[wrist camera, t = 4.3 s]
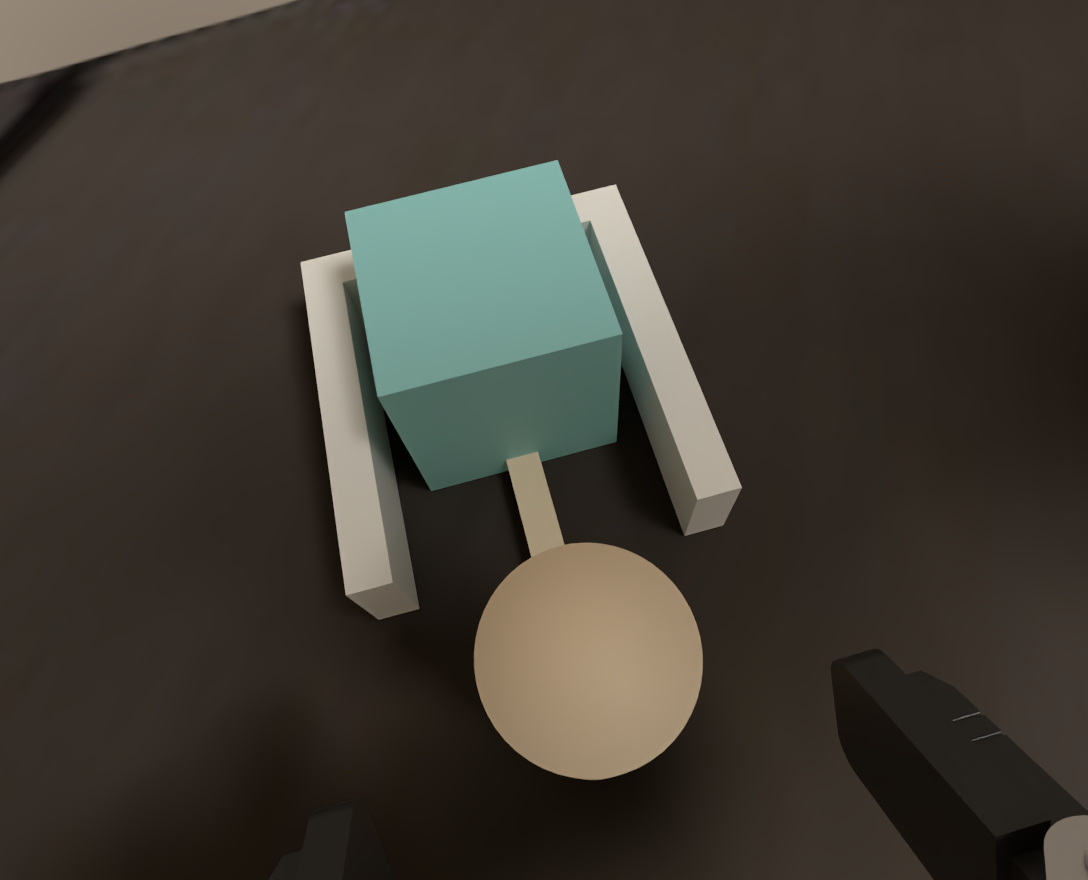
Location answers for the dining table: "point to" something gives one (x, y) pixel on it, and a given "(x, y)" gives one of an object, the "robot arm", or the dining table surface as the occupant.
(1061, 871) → the robot arm
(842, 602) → the dining table surface
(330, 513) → the dining table surface
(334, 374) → the cream u-shaped frame
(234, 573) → the dining table surface
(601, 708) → the tethered block
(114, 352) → the dining table surface
